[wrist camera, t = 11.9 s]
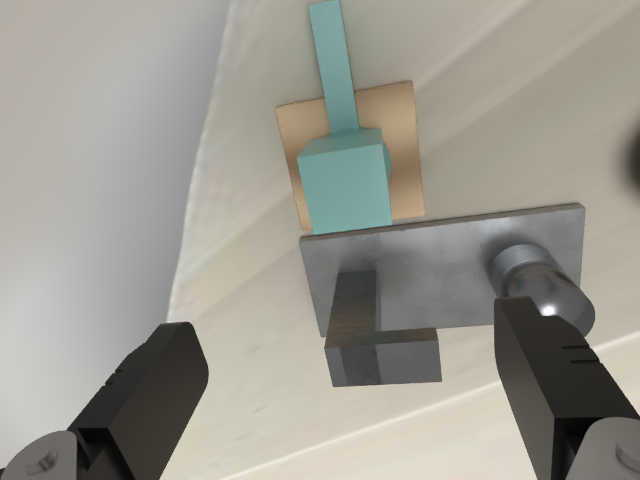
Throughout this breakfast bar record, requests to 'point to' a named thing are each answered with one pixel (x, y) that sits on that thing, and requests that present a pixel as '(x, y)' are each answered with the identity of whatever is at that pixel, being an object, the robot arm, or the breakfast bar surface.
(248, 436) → the breakfast bar surface
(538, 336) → the robot arm
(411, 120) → the wooden coaster
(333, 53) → the teal block with handle
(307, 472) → the breakfast bar surface
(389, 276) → the post
